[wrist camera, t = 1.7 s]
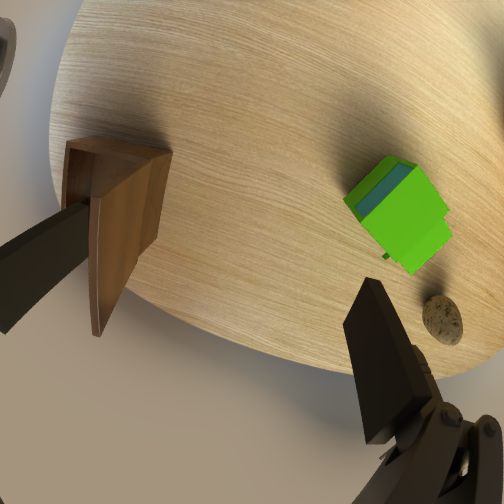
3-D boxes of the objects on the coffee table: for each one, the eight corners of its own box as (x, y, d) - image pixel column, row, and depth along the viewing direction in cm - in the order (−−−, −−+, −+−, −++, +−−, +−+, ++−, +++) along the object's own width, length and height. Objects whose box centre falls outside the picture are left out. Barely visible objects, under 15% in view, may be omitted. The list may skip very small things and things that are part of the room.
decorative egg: (427, 322, 42) (449, 363, 33) (409, 306, 41) (432, 347, 32) (452, 299, 39) (478, 336, 30) (436, 280, 38) (464, 318, 29)
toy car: (395, 266, 38) (420, 306, 29) (335, 202, 35) (352, 230, 26) (444, 219, 34) (481, 248, 25) (389, 147, 32) (424, 157, 23)
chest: (87, 215, 40) (60, 231, 34) (95, 135, 34) (66, 140, 28) (156, 238, 40) (136, 259, 34) (173, 151, 35) (150, 158, 29)
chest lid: (92, 335, 22) (100, 337, 22) (90, 195, 16) (101, 197, 16) (131, 260, 34) (137, 261, 34) (145, 158, 28) (152, 160, 28)
